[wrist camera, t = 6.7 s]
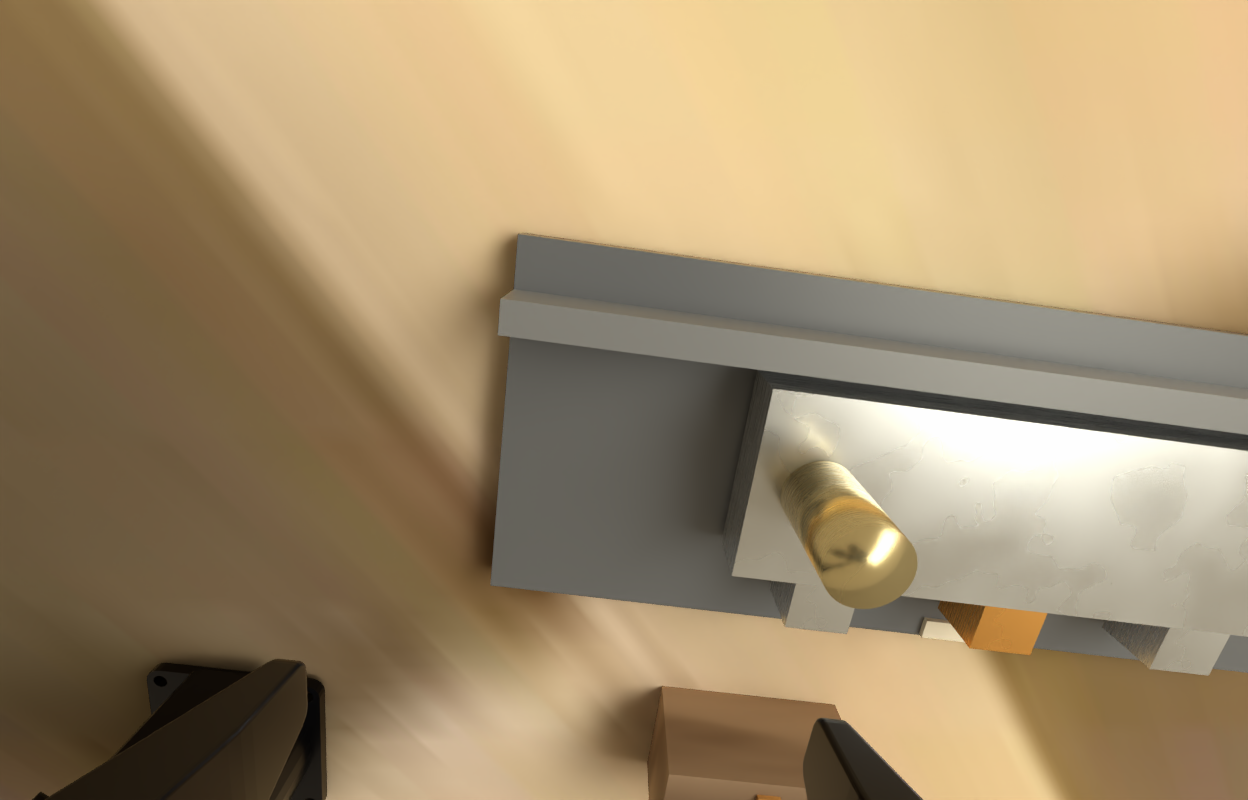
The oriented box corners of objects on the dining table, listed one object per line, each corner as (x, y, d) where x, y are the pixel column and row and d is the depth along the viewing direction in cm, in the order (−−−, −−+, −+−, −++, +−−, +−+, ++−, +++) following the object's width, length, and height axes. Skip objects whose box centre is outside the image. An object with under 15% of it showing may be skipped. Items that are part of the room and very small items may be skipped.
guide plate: (1244, 655, 23) (1332, 719, 20) (496, 568, 22) (477, 623, 19) (1409, 357, 19) (1545, 382, 16) (523, 233, 18) (504, 236, 15)
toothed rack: (1208, 639, 21) (1411, 787, 16) (713, 581, 20) (745, 715, 15) (1311, 443, 19) (1591, 537, 13) (757, 369, 18) (814, 437, 13)
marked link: (810, 776, 25) (845, 882, 21) (647, 759, 25) (651, 863, 21) (833, 701, 24) (875, 799, 20) (661, 683, 24) (669, 778, 20)
